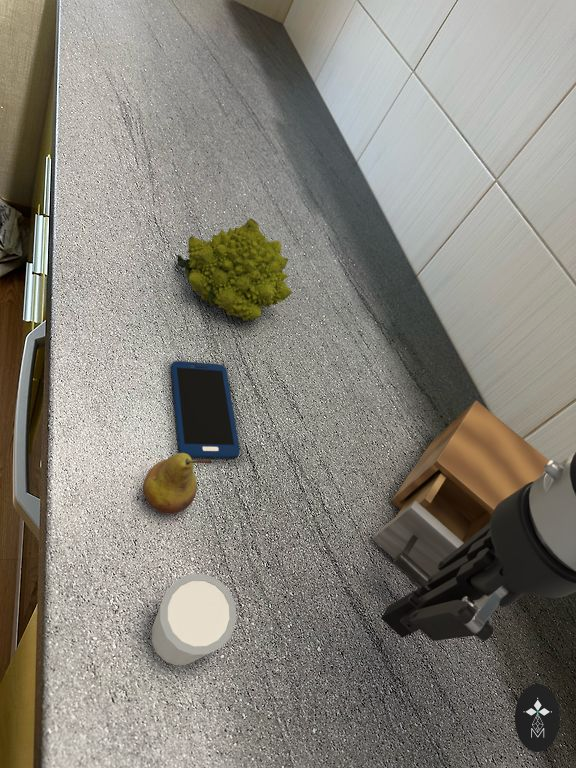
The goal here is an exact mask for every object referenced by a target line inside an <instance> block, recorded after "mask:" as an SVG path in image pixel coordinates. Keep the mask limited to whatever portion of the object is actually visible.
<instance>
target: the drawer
mask: <svg viewBox="0 0 576 768" xmlns="http://www.w3.org/2000/svg"><path fill="white" fill-rule="evenodd" d="M491 516H492V515H491V514H490V513H489V512H488V511H487V510H486V509H484V508H483V507H482V506H481V505H480V504H479V503H477V502H476V501H475V500H474V499H473V498H472V497H470V496H469V495H468V494H467V493H466V492H465V491H463V490H462V489H461V488H460V487H459V486H458V485H456V484H455V483H454V482H453V481H452V480H451V479H449V478H448V477H447V476H446V475H445V474H444V473H442V472H441V471H440V470H438V471H436V472H435V473H434V474H433V475H432V476H430V477H429V478H428V479H427V480H426V481H425V482H423V483H422V484H421V485H420V486H419V487H417V488H416V489H415V490H414V491H413V492H412V493H411V495H410V496H409V498H408V499H407V501H406V502H405V504H404V505H403V507H402V508H401V510H400V509H399V511H398V512H397V514H396V516H395V517H394V518H393V519H392V520H390V521H389V522H388V523H386V524H385V525H384V526H382V528H380V529H379V530H378V531H376V532H375V534H374V536H373V537H372V540H373V541H374V542H375V544H377V545H378V546H379V547H380V548H382V550H384V551H385V552H386V554H388V555H389V556H390V557H392V558H393V561H392V563H393V564H394V565H395V566H396V567H397V568H399V569H400V570H401V571H402V572H403V573H404V574H405V575H406V576H407V577H408V578H410V579H411V580H412V581H413V582H414V583H415V584H416V585H417V586H418V587H419V588H420V587H421V586H423V587H424V586H426V583H427V580H428V578H429V577H431V576H433V575H434V574H436V573H438V572H439V571H440V570H439V569H438V568H437V567H438V564H439V562H440V561H441V560H443V559H445V558H446V557H447V556H448V555H450V554H451V553H452V552H453V551H455V550H456V549H457V548H458V547H460V546H461V545H462V544H463V543H465V542H466V541H467V540H468V539H470V538H471V537H472V536H473V535H475V534H476V533H477V532H478V531H480V530H481V529H482V528H483V527H485V526H486V525H487V524H488V523H490V521H491Z"/></svg>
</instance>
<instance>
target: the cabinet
mask: <svg viewBox="0 0 576 768" xmlns="http://www.w3.org/2000/svg"><path fill="white" fill-rule="evenodd" d="M549 461H550V459H549V458H547V457H546V456H545V455H543V454H542V453H541V452H540V451H539V450H538V449H536V448H535V447H534V446H532V445H531V444H530V443H529V442H528V441H526V439H524V438H523V437H522V436H520V435H519V434H518V433H517V432H515V431H514V430H513V429H512V428H510V426H508V424H506V423H505V422H504V421H502V420H501V419H500V418H499V417H498V416H496V415H495V414H494V413H492V412H491V411H490V410H489V409H487V407H485V406H484V405H483V404H482V403H480V402H479V401H478V400H475V401H474V402H473V403H472V404H471V405H470V406H469V407H468V408H466V409H465V410H464V411H463V412H462V413H461V414H460V415H459V416H458V417H457V418H455V420H453V421H452V422H451V423H450V424H449V425H448V426H447V427H446V428H445V429H444V430H443V431H441V432H440V433H439V434H438V435H436V437H435V438H434V439H432V441H431V442H430V443H429V445H428V446H427V447H426V449H425V450H424V452H423V453H422V455H421V456H420V457H419V459H418V461H417V462H416V463H415V465H414V466H413V468H412V469H411V471H410V472H409V474H408V475H407V476H406V478H405V480H404V481H403V482H402V483H401V485H400V487H399V488H398V489H397V491H396V492H395V493H394V495H393V496H392V499H390V502H391V503H392V504H393V505H394V506H395V507H396V508H398V510H399V511H400V510H401V508H402V507H403V505H404V504H405V502H406V501H407V499H408V498H409V496H410V495H411V493H412V492H413V491H414V490H415V489H416V488H417V487H419V486H420V485H421V484H422V483H423V482H425V481H426V480H427V479H428V478H429V477H430V476H432V475H433V474H434V473H435V472H436V471H438V470H440V471H441V472H442V473H444V474H445V475H446V476H447V477H448V478H449V479H451V480H452V481H453V482H454V483H455V484H456V485H458V486H459V487H460V488H461V489H462V490H463V491H465V492H466V493H467V494H468V495H469V496H470V497H472V498H473V499H474V500H475V501H476V502H477V503H479V504H480V505H481V506H482V507H483V508H484V509H486V510H487V511H488V512H489V513H490V514H491V515H492V513H493V511H494V509H495V507H496V506H497V505H498V504H499V503H500V502H501V501H502V500H504V499H505V498H507V497H508V496H510V495H511V494H513V493H514V492H516V491H517V490H519V489H520V488H522V487H523V486H525V485H526V484H528V483H530V482H533V481H535V480H536V479H537V478H538V477H540V476H541V475H543V474H544V473H545V469H544V465H546V464H547V463H548V462H549Z"/></svg>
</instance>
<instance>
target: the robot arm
mask: <svg viewBox="0 0 576 768" xmlns="http://www.w3.org/2000/svg"><path fill="white" fill-rule="evenodd" d="M544 469H545V471H544V473H543V475H541V476H540V477H538V478H537V479H536V480H535V481H533V482H530V483H528V484H526V485H525V486H523V487H522V488H520V489H519V490H517V491H516V492H514V493H513V494H511V495H510V496H508V497H507V498H505V499H504V500H502V501H501V502H500V503H499V504H498V505H497V506H496V507H495V509H494V511H493V513H492V516H491V521H490V523H488V524H487V525H486V526H485V527H483V528H482V529H481V530H480V531H478V532H477V533H476V534H475V535H473V536H472V537H471V538H470V539H468V540H467V541H466V542H465V543H463V544H462V545H461V546H460V547H458V548H457V549H456V550H455V551H453V552H452V553H451V554H450V555H448V556H447V557H446V558H445V559H443V560H441V561H440V562H439V564H438V567H437V568H438V569H439V570H440V571H439V572H438V573H436V574H434V575H433V576H431V577H429V578H428V580H427V583H426V586H424V587H423V586H421V587H420V586H419V587H418V588H416V589H415V590H413V591H411V592H409V593H408V594H406V595H405V596H403V597H401V598H399V599H397V601H395V602H393V603H391V604H389V605H388V606H387V607H386V608H385V610H384V612H383V613H382V615H381V616H380V619H381V620H382V621H383V622H384V623H385V624H386V625H387V626H388V627H389V628H390V629H392V630H393V631H394V633H396V635H398V636H399V637H400V638H402V639H403V638H406V637H408V636H409V635H412V634H413V633H415V632H417V631H419V630H420V631H421V632H422V633H423V634H424V635H425V636H426V637H427V638H429V640H431V641H432V642H437V641H444V640H453V639H460V638H468V637H476V638H477V639H479V640H480V641H482V642H486V641H487V640H488V639H490V638H491V637H492V636H493V634H494V632H495V631H494V630H495V628H494V627H493V626H492V625H491V624H492V623H493V618H492V617H491V616H492V615H493V614H494V613H495V611H496V610H497V608H498V607H501V608H507V607H510V606H511V605H513V604H514V603H515V602H516V601H517V600H518V599H520V598H521V597H523V596H525V595H534V596H539V597H543V598H547V599H559V598H564V597H567V596H570V595H571V594H573V593H576V452H574V453H572V454H571V455H569V457H567V458H565V459H564V460H562V461H561V462H560V463H559V462H557V461H556V460H554V459H553V460H551V459H549V461H548V463H547V464H546V465H544Z"/></svg>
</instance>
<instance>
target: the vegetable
mask: <svg viewBox="0 0 576 768" xmlns="http://www.w3.org/2000/svg"><path fill="white" fill-rule="evenodd" d="M187 245H188V246H187V247H188V248H187V249H188V250H187V253H188V256H187V259H185V258H183V257H182V256H181V254H176V257H177V259H176V260H177V261H176V262H177V264H176V265H177V266H178V267H180V268H181V269H184V271H185V275H186V277H188V279H187V280H188V283H189V285H190V286H191V290H192V291H195V292H197V293H198V294H199V295H200V298H201V301H205V302H207V303H208V304H209V306H210V307H212V306H214V305H218V308H219V309H221V308H222V309H223V311H226V315H227V316H234V317H236V318H241V319H242V321H243V322H245V321H248V322H250V321H253V320H254V321H255V320H256V319H258V318H259V317H261V316H262V314H261V313H262V311H263V307H264V308H270V307H271V306H272V305H273V306H276V305H277V304H278V302H279V303H282V301H286V299H287V298H288V297H289V296H290V295H291V294H292V293H293V291H292V290H291V289H290V288H289V286H287V284H286V283H287V282H286V281H284V280H286V279H287V278H289V275H288V274H286V273H285V272H284V271H283V270H284V269H286V266H287V264H288V262H289V258H286V257H284V256H282V255H281V254H282V253H281V250H282V243H281V242H280V241H279V240H272V241H269V240H268V237H266V235H264V234H263V232H261V231H260V228H259V223H258V222H257V221H256V220H254V219H253V218H252V217H250V218H249V219H248V220H247V221H246V222H245V223H244V224H243V225H241V226H240V227H234V229H233V228H229V229H228V231H227V232H225V231H224V230H223V228H221V229H220V231H219V233H218V234H217V235H216V234H212V236H211V239H209V240H208V241H206V240H201V239H199V238H196V237H195V236H193V235H191V236H189V237H188V243H187Z"/></svg>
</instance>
